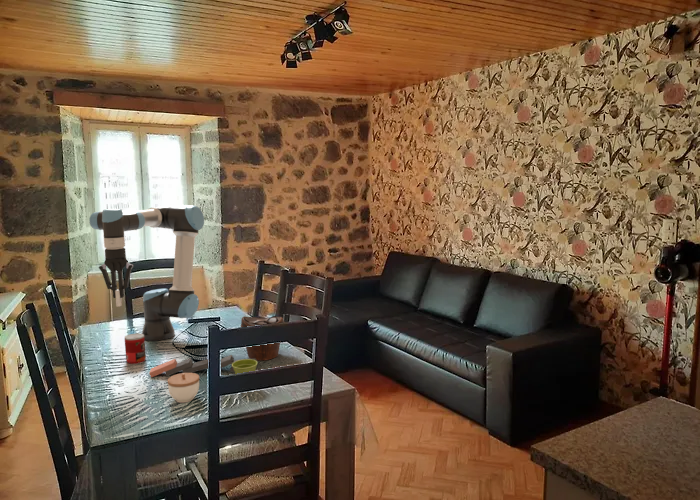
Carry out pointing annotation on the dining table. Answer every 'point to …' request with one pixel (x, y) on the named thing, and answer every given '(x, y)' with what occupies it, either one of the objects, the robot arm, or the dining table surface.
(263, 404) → the dining table surface
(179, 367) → the domino
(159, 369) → the domino
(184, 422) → the dining table surface
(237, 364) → the plant pot
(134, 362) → the canned food
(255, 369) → the domino
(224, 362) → the domino
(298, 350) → the dining table surface
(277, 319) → the brown basket
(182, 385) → the lidded jar
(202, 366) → the domino
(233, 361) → the domino
